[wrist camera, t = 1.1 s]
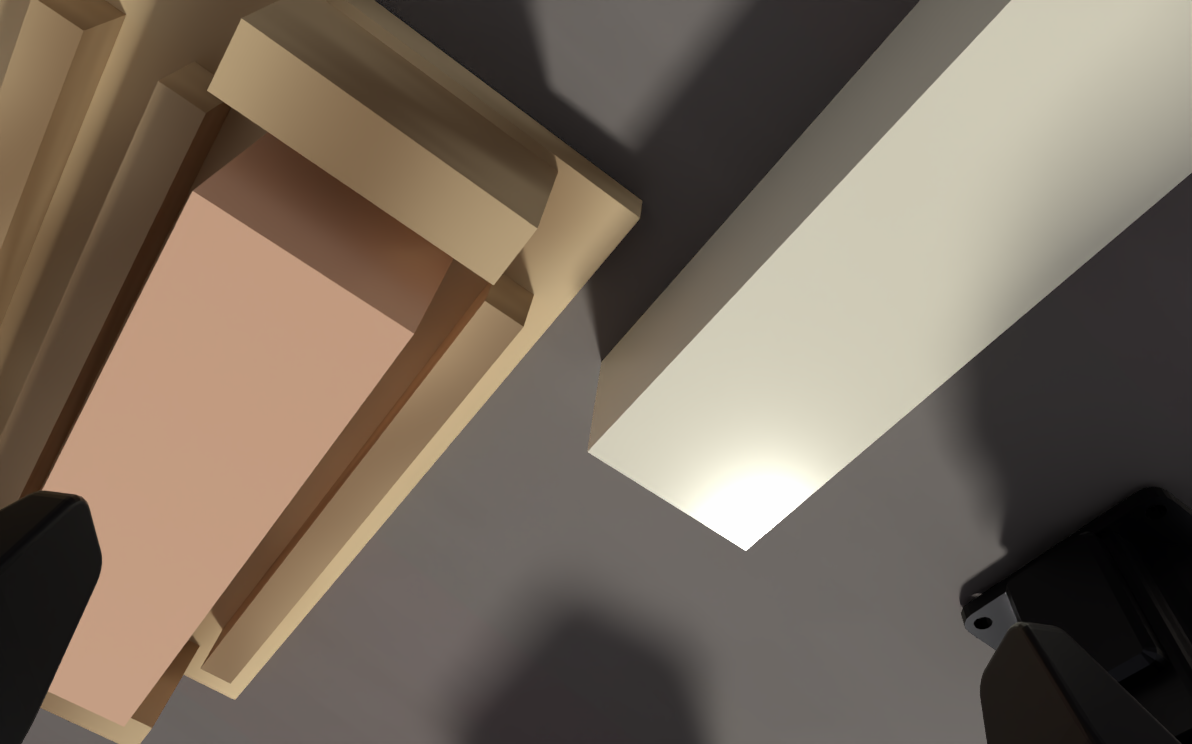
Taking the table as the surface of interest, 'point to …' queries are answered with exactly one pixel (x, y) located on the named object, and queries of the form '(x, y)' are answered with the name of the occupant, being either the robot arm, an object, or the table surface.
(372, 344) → the fired brick
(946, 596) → the table surface
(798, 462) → the long ivory plank
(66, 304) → the rack
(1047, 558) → the robot arm
